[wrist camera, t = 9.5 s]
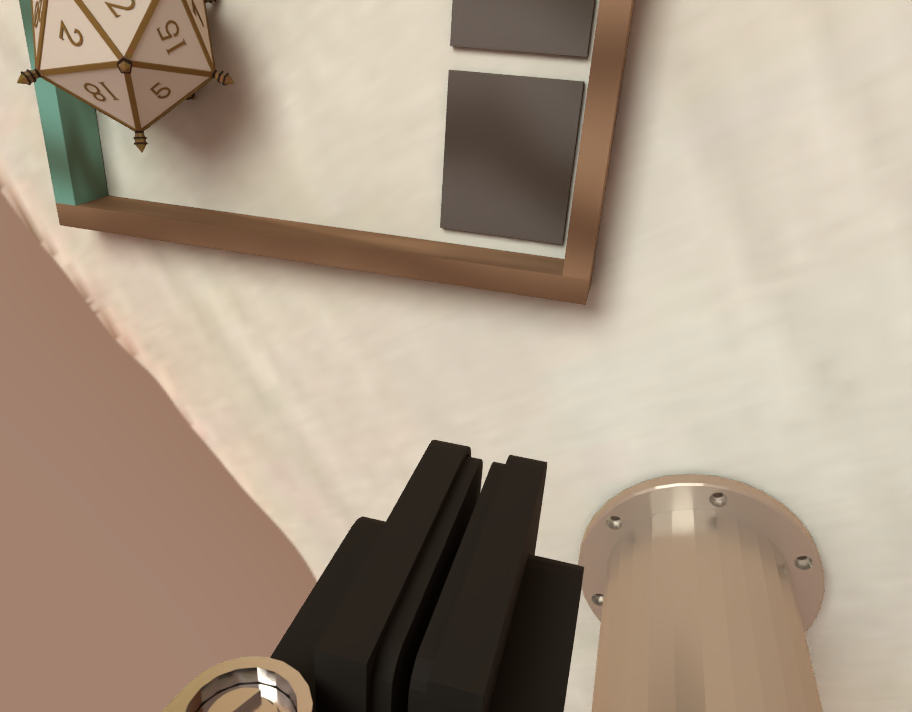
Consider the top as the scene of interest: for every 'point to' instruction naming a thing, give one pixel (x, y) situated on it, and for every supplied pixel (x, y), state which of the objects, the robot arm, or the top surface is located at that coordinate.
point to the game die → (124, 55)
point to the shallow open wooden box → (464, 174)
